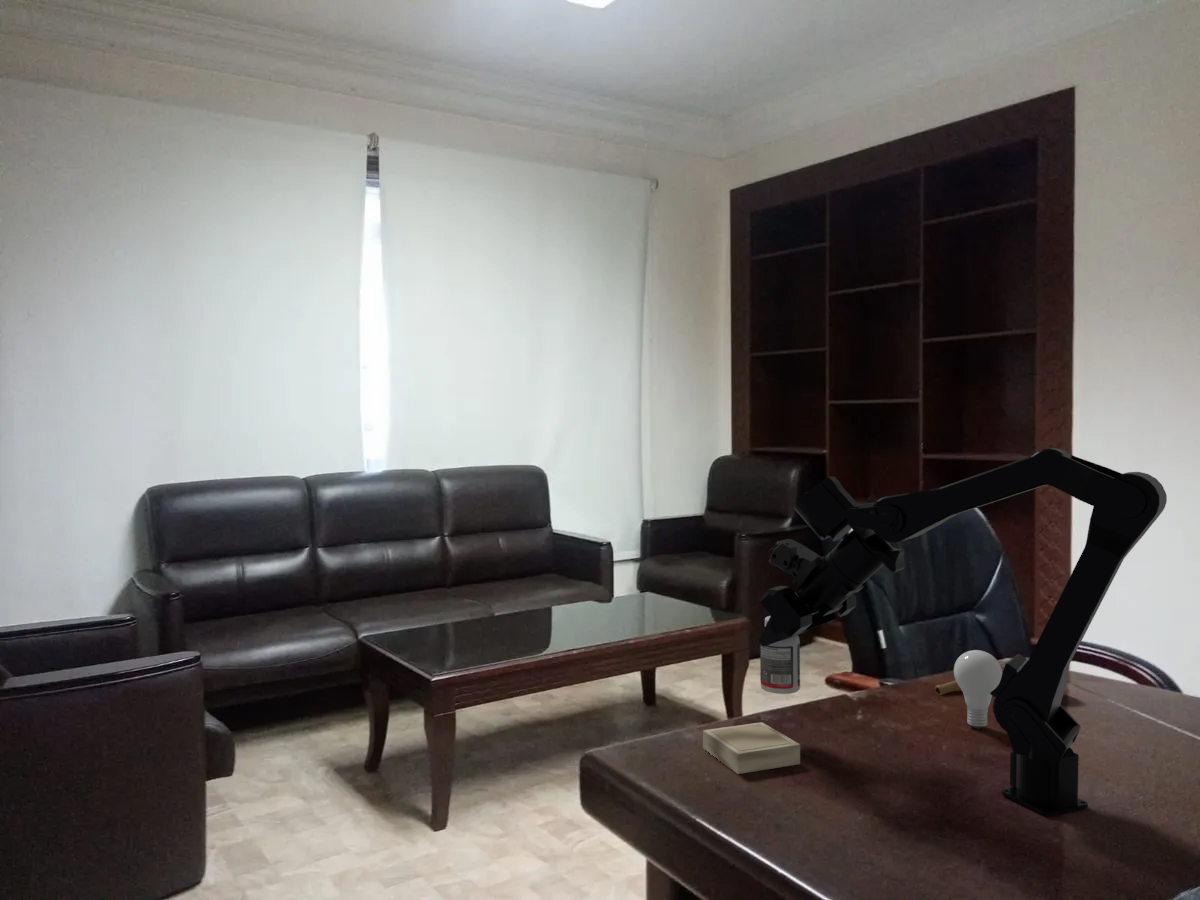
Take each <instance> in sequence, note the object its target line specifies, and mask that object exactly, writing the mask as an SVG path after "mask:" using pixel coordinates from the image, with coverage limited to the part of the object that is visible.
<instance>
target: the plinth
mask: <svg viewBox="0 0 1200 900" xmlns="http://www.w3.org/2000/svg"><path fill="white" fill-rule="evenodd" d="M702 750H704V751H705V750H706V751H707V752H706V751H705V752H706V753H708V752H709V753H710V754H709V753H708V754H709V755H711V756H712V755H713V756H714V757H713V756H712V757H713V758H715V757H716V758H717V759H718V760H717V759H716V758H715V759H716V760H717V761H719V762H720V761H721V762H720V763H722V764H723V765H725V767H727V768H728V769H730V770H731V769H732V770H731V771H733V772H734V773H735V774H737V775H740V774H746V773H753V772H759V771H766V770H770V769H771V770H772V769H777V768H783V767H791V766H795V765H801V744H800V743H798V742H797V741H795V740H793V739H792V738H789V737H788V736H786V735H785V734H783V733H782V732H779V731H777V730H776V729H774V728H772V727H771V726H769V725H768V724H766V723H764V722H762V721H761V722H754V723H746V724H739V725H732V726H731V725H730V726H725V727H723V726H722V727H718V728H710V729H709V728H708V729H703V730H702Z"/></svg>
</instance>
